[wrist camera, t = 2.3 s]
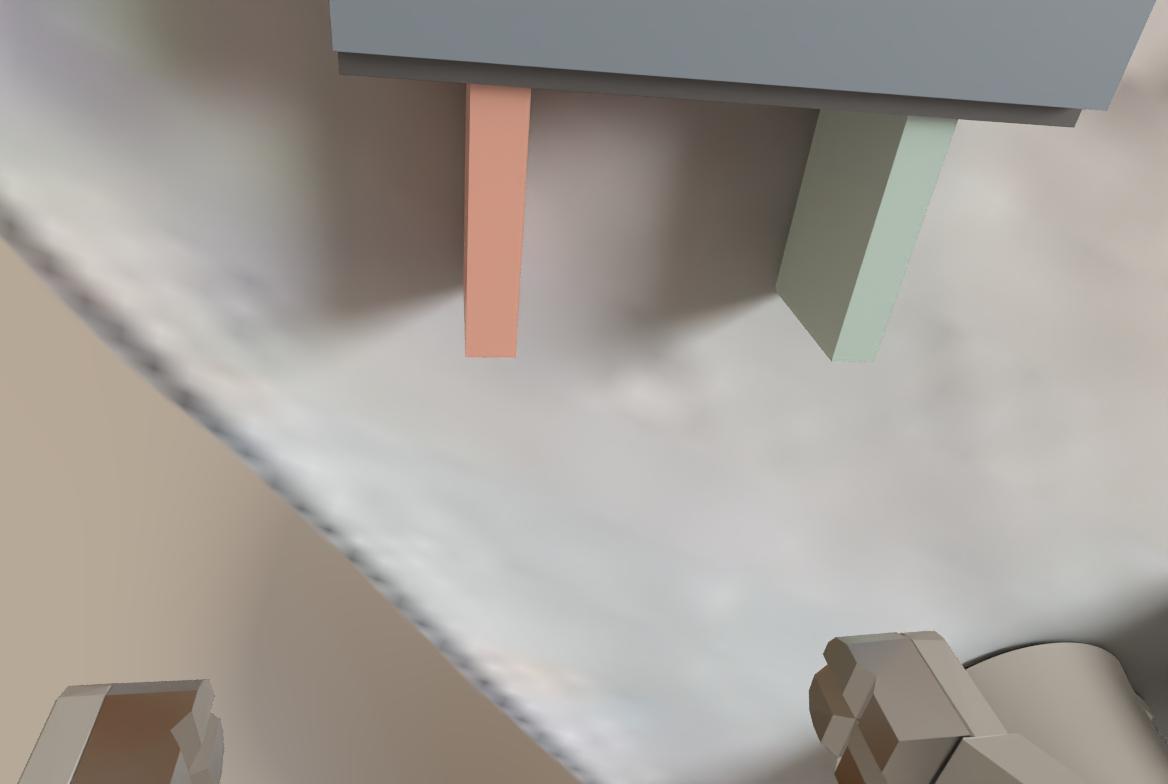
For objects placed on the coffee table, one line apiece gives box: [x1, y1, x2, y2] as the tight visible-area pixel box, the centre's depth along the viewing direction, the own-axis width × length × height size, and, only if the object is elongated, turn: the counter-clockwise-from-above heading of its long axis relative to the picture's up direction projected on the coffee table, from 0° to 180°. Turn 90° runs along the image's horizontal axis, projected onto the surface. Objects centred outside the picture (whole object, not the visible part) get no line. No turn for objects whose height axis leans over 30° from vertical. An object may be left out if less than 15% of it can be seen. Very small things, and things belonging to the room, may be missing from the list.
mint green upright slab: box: [775, 109, 958, 362], centre depth 22 cm, size 14×1×5 cm, turn 174°
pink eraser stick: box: [463, 83, 531, 357], centre depth 20 cm, size 14×1×5 cm, turn 174°
